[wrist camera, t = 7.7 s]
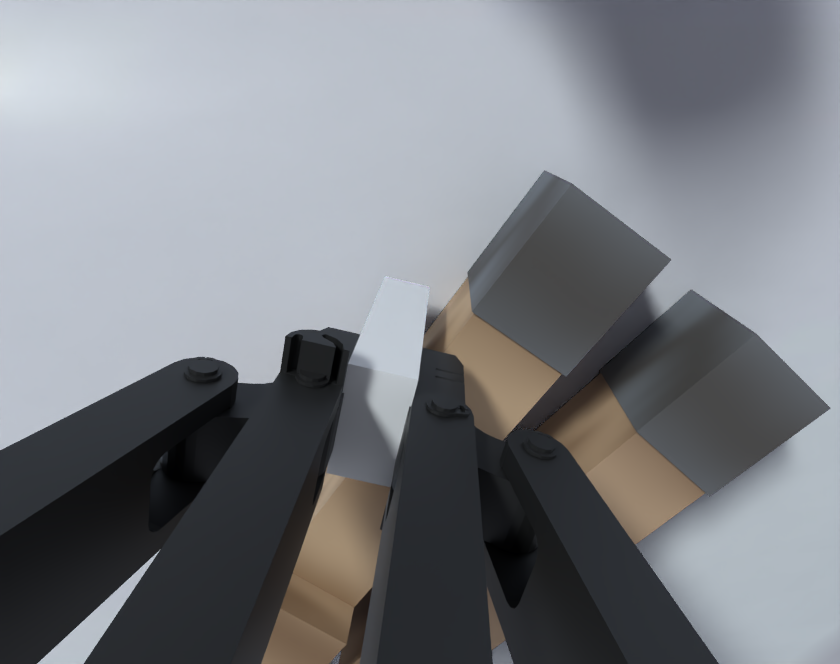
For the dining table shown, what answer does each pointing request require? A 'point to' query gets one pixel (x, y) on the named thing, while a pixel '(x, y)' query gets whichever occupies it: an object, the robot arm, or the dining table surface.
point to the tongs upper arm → (477, 381)
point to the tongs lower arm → (669, 423)
